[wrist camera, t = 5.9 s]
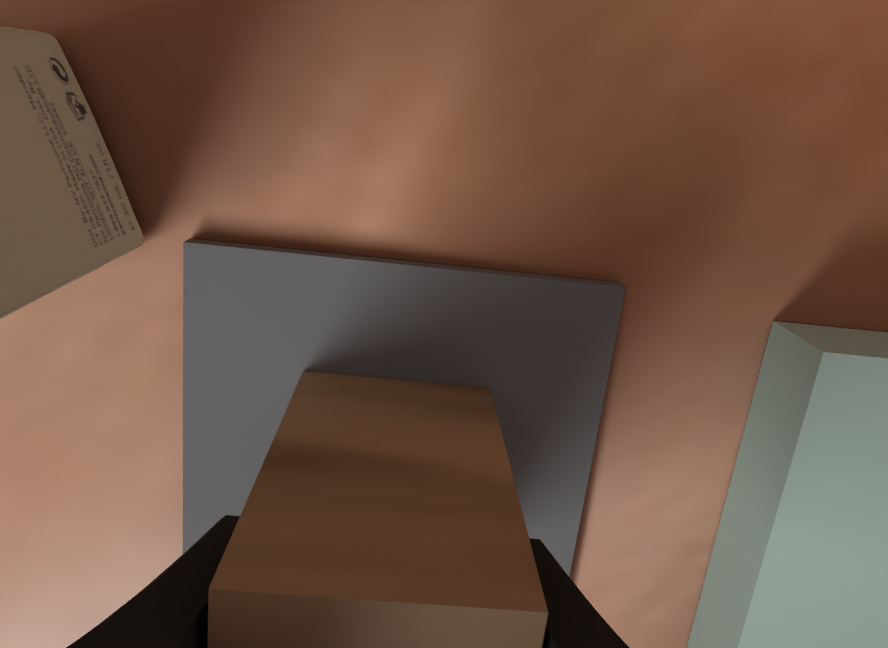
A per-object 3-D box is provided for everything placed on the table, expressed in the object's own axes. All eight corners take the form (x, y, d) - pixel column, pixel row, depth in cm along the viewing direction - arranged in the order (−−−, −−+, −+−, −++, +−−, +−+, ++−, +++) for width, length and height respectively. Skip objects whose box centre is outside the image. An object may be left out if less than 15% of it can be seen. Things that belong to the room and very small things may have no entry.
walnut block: (467, 547, 16) (502, 856, 10) (293, 534, 16) (204, 842, 9) (490, 388, 15) (547, 612, 8) (303, 370, 15) (208, 588, 8)
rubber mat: (553, 629, 18) (556, 641, 17) (188, 604, 17) (182, 616, 17) (620, 282, 15) (626, 287, 15) (189, 238, 14) (183, 241, 14)
